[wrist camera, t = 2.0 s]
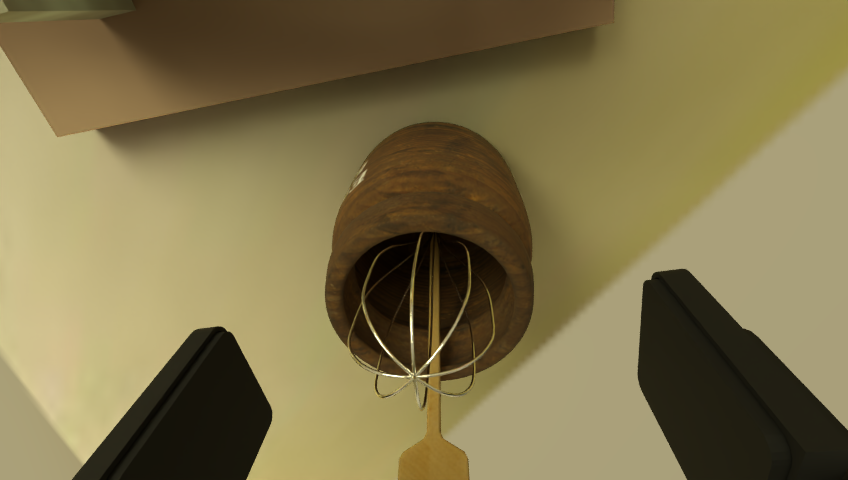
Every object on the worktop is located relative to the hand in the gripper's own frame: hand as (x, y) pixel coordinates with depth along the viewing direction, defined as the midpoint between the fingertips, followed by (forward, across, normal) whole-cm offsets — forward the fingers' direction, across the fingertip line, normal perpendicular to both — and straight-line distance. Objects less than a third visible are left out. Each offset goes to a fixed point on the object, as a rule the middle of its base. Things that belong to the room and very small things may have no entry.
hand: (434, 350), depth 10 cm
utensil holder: (+8, 0, -1) cm, 8 cm away
